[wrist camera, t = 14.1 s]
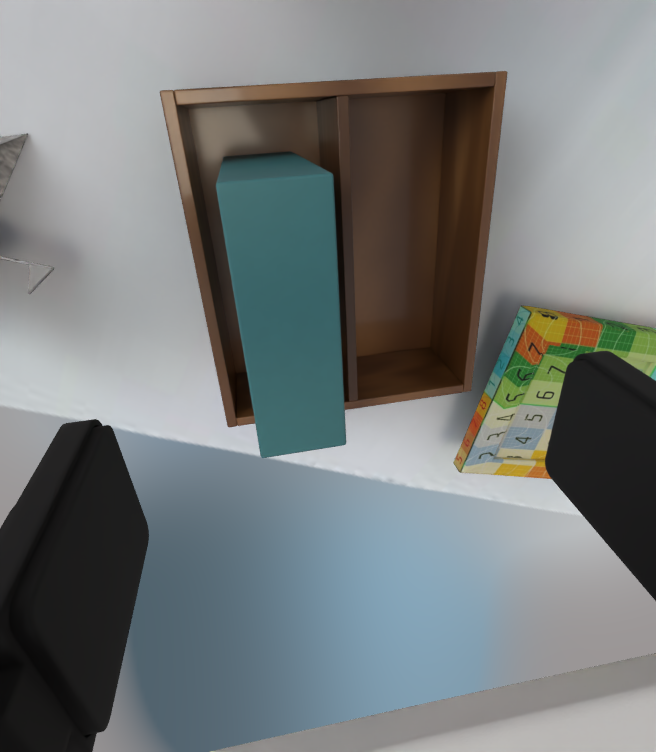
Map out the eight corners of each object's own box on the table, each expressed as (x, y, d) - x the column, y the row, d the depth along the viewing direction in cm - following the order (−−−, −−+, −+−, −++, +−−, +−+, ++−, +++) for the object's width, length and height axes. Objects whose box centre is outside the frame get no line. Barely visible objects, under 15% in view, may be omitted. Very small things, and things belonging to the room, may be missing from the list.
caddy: (450, 81, 23) (508, 70, 18) (434, 348, 30) (471, 391, 26) (176, 97, 21) (159, 90, 17) (228, 376, 29) (227, 427, 24)
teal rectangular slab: (292, 151, 23) (333, 172, 13) (308, 335, 28) (346, 446, 18) (222, 156, 22) (215, 182, 13) (251, 342, 27) (261, 460, 18)
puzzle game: (693, 494, 36) (465, 481, 30) (646, 456, 40) (438, 439, 34) (794, 360, 30) (540, 318, 25) (728, 332, 34) (497, 290, 29)
